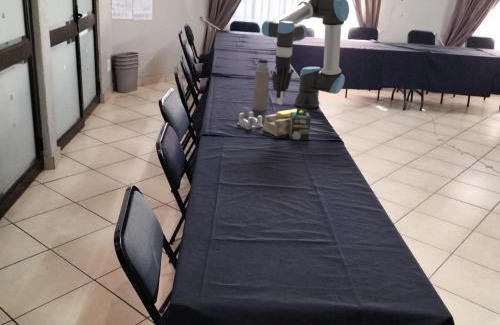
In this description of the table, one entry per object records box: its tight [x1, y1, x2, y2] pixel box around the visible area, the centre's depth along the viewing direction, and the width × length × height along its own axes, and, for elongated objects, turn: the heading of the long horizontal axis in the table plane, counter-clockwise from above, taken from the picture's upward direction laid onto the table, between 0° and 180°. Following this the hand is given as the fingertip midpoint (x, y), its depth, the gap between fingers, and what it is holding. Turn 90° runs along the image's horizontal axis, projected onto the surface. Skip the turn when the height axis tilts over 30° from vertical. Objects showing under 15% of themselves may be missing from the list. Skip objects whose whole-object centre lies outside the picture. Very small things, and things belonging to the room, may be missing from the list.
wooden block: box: [276, 108, 304, 120], centre depth 228 cm, size 14×4×4 cm, turn 127°
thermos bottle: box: [252, 59, 271, 112], centre depth 257 cm, size 8×8×28 cm
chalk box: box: [288, 108, 312, 141], centre depth 218 cm, size 9×9×15 cm
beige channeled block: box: [263, 113, 290, 137], centre depth 227 cm, size 16×10×8 cm, turn 127°
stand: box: [236, 111, 264, 131], centre depth 230 cm, size 10×9×6 cm
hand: (279, 103), depth 221 cm, fingers closed
